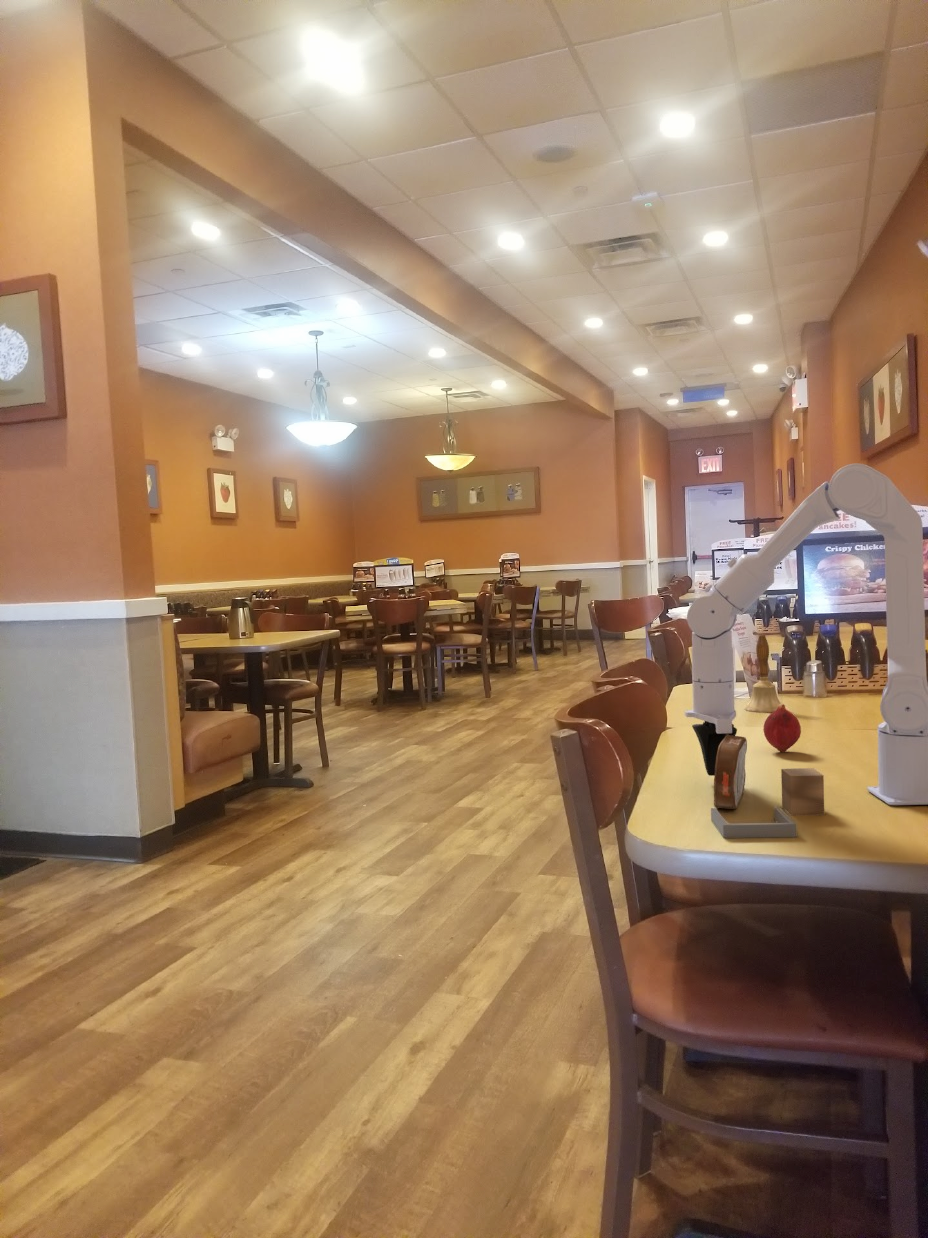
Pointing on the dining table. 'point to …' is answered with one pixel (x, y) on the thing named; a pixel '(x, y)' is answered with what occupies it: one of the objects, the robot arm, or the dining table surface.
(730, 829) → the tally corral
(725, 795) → the tin
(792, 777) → the walnut block
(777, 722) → the onion
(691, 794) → the dining table surface
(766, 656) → the hand bell
